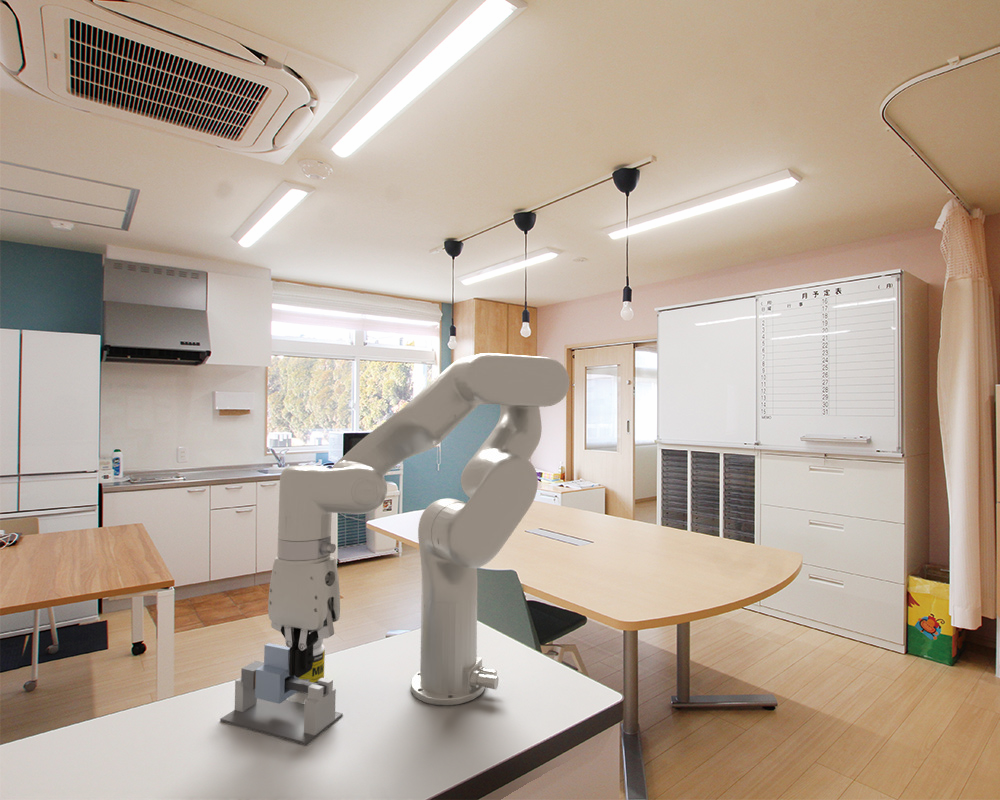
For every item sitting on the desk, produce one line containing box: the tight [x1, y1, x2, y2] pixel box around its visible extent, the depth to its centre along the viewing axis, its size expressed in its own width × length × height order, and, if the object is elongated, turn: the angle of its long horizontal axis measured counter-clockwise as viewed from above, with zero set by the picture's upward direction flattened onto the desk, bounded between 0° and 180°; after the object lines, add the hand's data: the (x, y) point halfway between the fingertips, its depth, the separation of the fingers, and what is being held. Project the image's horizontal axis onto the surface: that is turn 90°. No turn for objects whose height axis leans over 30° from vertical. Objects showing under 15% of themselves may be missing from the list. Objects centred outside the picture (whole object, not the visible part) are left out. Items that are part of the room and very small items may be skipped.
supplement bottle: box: [299, 633, 326, 684], centre depth 91 cm, size 5×5×8 cm
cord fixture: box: [219, 660, 344, 746], centre depth 81 cm, size 16×8×7 cm, turn 69°
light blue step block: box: [255, 642, 299, 704], centre depth 82 cm, size 5×4×7 cm
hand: (300, 672), depth 80 cm, fingers closed
